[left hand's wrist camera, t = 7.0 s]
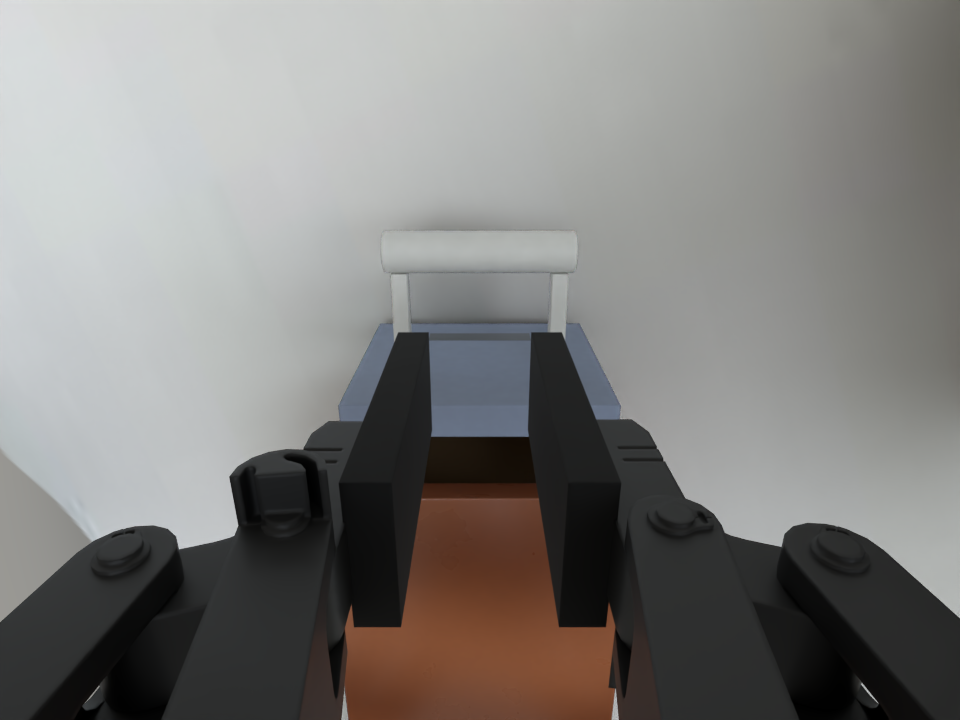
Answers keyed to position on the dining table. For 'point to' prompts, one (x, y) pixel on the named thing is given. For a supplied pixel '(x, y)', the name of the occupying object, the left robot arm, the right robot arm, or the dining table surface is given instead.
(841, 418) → the dining table surface
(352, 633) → the cabinet
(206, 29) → the dining table surface
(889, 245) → the dining table surface
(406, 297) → the drawer
